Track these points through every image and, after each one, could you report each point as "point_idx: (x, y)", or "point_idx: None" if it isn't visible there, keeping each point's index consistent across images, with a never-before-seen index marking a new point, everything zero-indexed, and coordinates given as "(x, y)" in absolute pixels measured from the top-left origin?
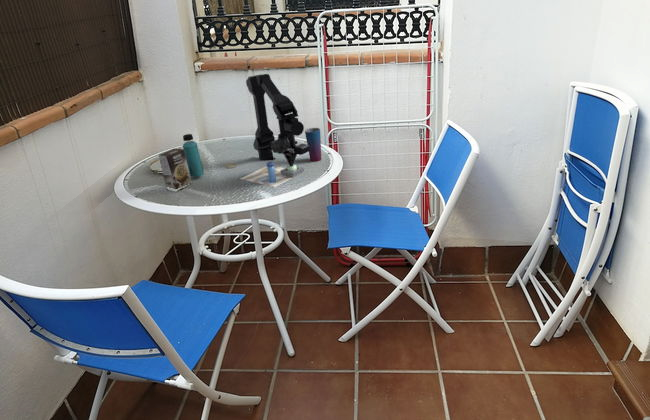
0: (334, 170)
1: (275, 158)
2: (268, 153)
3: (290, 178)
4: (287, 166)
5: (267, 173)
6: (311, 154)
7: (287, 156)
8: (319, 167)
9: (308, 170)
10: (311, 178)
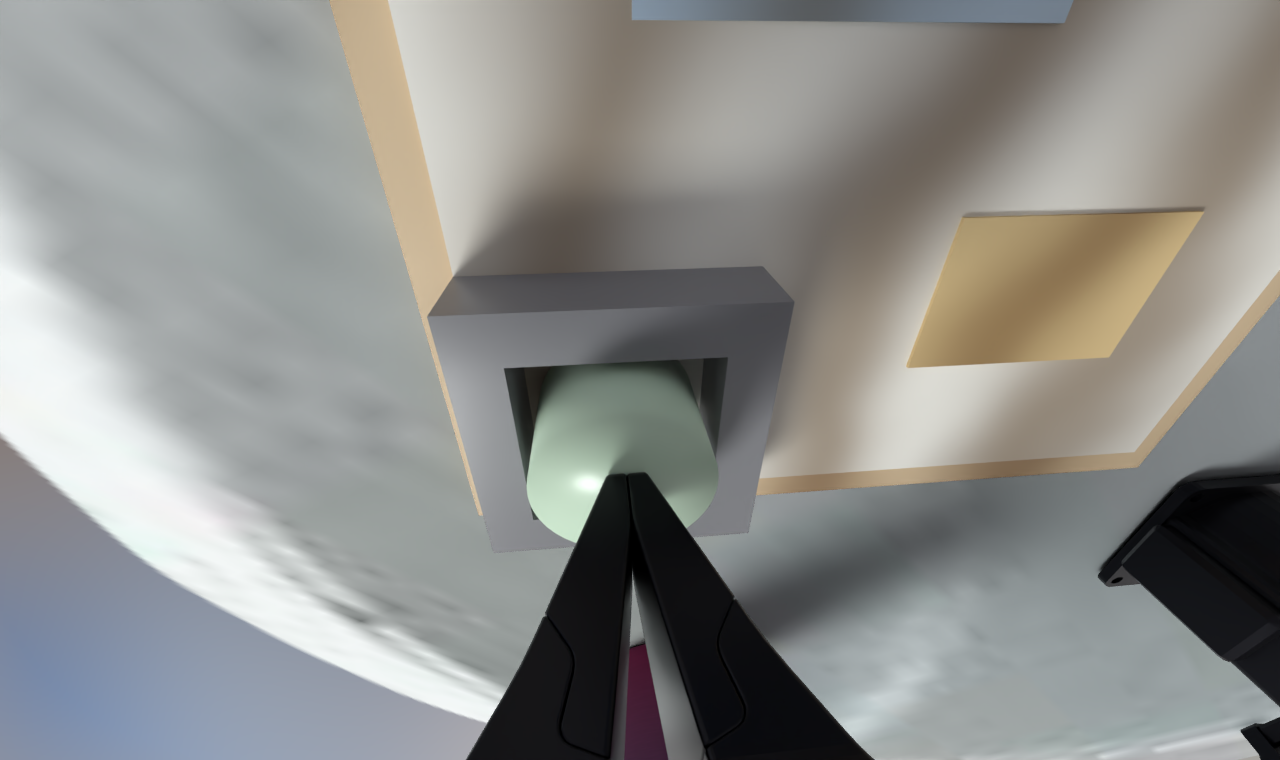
0: (310, 641)
1: (1102, 579)
2: (1267, 612)
3: (462, 217)
4: (700, 448)
5: (1070, 203)
6: (664, 758)
7: (692, 726)
8: (519, 624)
9: (561, 549)
10: (276, 421)
